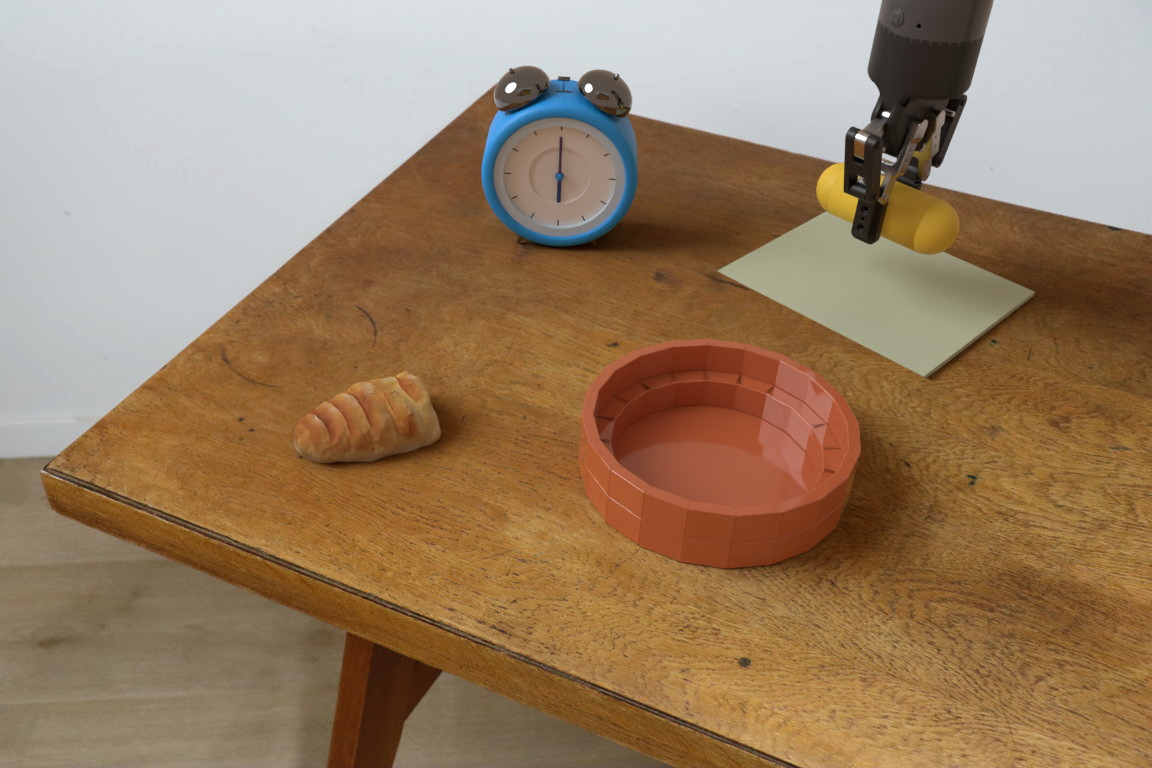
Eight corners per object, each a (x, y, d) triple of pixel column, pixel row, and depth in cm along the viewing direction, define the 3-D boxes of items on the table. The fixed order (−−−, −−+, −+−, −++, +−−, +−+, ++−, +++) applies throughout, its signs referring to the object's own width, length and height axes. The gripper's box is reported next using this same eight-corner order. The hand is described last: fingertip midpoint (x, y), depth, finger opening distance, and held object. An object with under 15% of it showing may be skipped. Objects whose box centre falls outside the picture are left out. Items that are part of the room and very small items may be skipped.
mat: (836, 209, 105) (837, 205, 104) (1033, 296, 94) (1035, 291, 93) (700, 284, 93) (700, 279, 93) (907, 393, 82) (909, 388, 82)
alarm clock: (481, 246, 96) (479, 80, 87) (487, 212, 101) (487, 51, 92) (631, 254, 96) (646, 89, 87) (630, 219, 101) (644, 60, 92)
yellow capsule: (801, 211, 92) (810, 163, 89) (831, 195, 94) (841, 148, 92) (933, 271, 85) (947, 221, 82) (962, 252, 88) (976, 202, 85)
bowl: (695, 365, 84) (702, 310, 81) (896, 482, 74) (913, 424, 71) (524, 470, 73) (525, 411, 70) (732, 621, 64) (744, 561, 61)
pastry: (315, 490, 71) (309, 445, 69) (281, 431, 76) (274, 386, 73) (449, 447, 75) (447, 402, 73) (409, 393, 79) (406, 349, 77)
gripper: (926, 58, 73) (872, 279, 83) (1027, 13, 81) (966, 219, 92) (831, 26, 77) (791, 240, 87) (937, -14, 85) (888, 186, 96)
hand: (881, 228), depth 90 cm, fingers closed on yellow capsule, 4 cm apart
